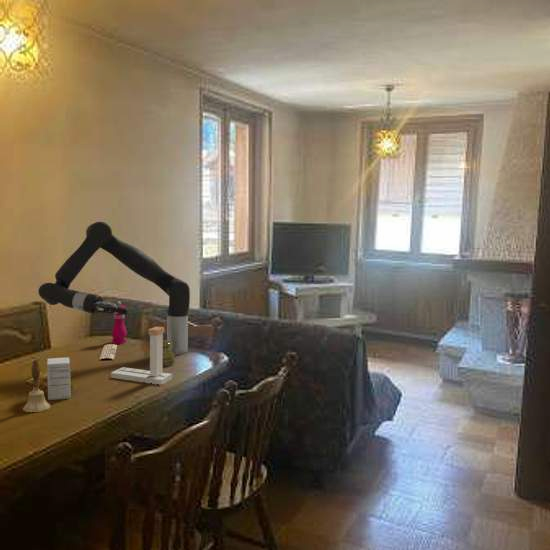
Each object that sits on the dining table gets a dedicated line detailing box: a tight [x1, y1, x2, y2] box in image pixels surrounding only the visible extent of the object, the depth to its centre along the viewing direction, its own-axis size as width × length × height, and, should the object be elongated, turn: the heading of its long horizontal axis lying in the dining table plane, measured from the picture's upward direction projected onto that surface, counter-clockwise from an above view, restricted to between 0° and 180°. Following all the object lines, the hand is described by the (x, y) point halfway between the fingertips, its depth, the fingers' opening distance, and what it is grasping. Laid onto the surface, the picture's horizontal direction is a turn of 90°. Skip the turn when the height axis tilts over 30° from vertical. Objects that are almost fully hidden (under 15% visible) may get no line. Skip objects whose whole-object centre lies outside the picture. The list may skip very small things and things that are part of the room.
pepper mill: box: [111, 300, 128, 345], centre depth 266 cm, size 7×7×20 cm
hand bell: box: [22, 359, 51, 414], centre depth 180 cm, size 8×8×16 cm
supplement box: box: [46, 357, 72, 401], centre depth 193 cm, size 7×7×13 cm
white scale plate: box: [110, 366, 173, 386], centre depth 215 cm, size 8×22×2 cm, turn 72°
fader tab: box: [147, 326, 165, 377], centre depth 211 cm, size 6×4×18 cm, turn 162°
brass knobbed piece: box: [163, 339, 176, 367], centre depth 234 cm, size 7×8×10 cm
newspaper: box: [98, 343, 118, 361], centre depth 249 cm, size 24×7×2 cm, turn 12°
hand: (127, 312), depth 216 cm, fingers closed
